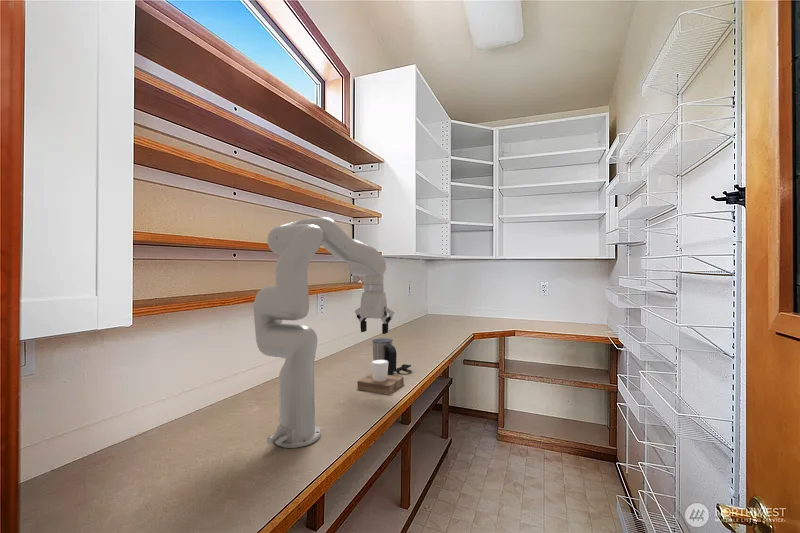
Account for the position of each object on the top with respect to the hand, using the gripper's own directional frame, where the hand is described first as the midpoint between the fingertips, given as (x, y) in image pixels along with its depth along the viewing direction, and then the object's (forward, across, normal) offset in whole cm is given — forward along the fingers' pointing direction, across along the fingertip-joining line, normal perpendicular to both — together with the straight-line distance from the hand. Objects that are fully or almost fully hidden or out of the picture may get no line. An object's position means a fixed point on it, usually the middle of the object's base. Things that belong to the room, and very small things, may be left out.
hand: (374, 332), depth 142 cm
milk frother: (+21, -3, +21) cm, 30 cm away
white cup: (+19, +1, +2) cm, 19 cm away
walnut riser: (+22, +2, +2) cm, 22 cm away
